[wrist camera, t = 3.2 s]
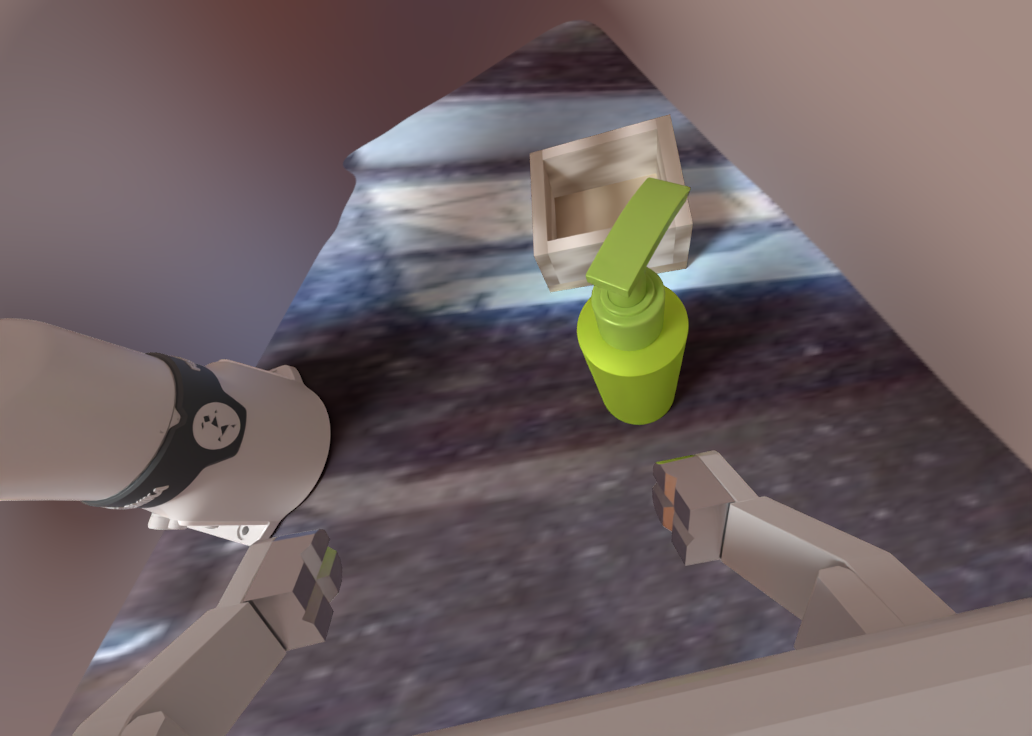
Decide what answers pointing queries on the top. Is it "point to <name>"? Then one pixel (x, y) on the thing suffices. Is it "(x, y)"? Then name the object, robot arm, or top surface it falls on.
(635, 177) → the box
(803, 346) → the top surface
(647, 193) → the soap dispenser
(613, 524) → the top surface
